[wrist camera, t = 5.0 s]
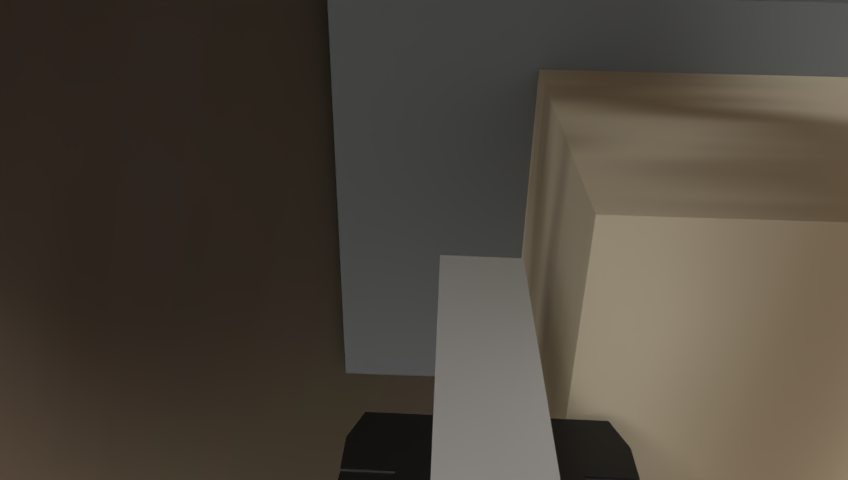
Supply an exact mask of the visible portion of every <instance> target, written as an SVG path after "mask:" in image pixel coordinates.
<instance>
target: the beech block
mask: <svg viewBox="0 0 848 480" xmlns="http://www.w3.org/2000/svg"><path fill="white" fill-rule="evenodd" d="M522 258H524V264H525V270H526V276H527V282H528V288H529V294H530V300H531V306H532V312H533V318H534V324H535V330H536V336H537V342H538V348H539V354H540V360H541V366H542V372H543V378H544V384H545V390H546V396H547V402H548V408H549V414H550V418H555V419H577V420H599V421H609V422H610V423H611V425H612V426H613V427H614V428H615V430H616V431H617V432H618V433H619V434H620V436H621V437H622V438H623V439H624V440H625V442H626V443H627V444H628V445H629V447H630V448H631V451H632V454H633V458H634V461H635V464H636V468H637V471H638V474H639V478H640V480H848V77H823V76H782V75H741V74H701V73H660V72H620V71H579V70H539V75H538V85H537V96H536V107H535V118H534V129H533V139H532V150H531V161H530V172H529V182H528V193H527V204H526V215H525V226H524V236H523V247H522Z"/></svg>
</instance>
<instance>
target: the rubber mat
mask: <svg viewBox="0 0 848 480" xmlns="http://www.w3.org/2000/svg"><path fill="white" fill-rule="evenodd" d="M327 4H328V24H329V44H330V64H331V84H332V105H333V125H334V145H335V165H336V186H337V206H338V226H339V246H340V266H341V287H342V307H343V327H344V347H345V367H346V373H355V374H382V375H409V376H435V361H436V338H437V314H438V291H439V267H440V255H453V256H478V257H503V258H522V247H523V236H524V226H525V215H526V204H527V193H528V182H529V172H530V161H531V150H532V139H533V129H534V118H535V107H536V96H537V85H538V75H539V70H579V71H620V72H660V73H701V74H741V75H782V76H823V77H848V0H327Z"/></svg>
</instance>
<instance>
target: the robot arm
mask: <svg viewBox="0 0 848 480" xmlns="http://www.w3.org/2000/svg"><path fill="white" fill-rule="evenodd" d="M338 480H640V478H639V474H638V471H637V468H636V464H635V461H634V458H633V454H632V451H631V448H630V447H629V445H628V444H627V443H626V442H625V440H624V439H623V438H622V437H621V436H620V434H619V433H618V432H617V431H616V430H615V428H614V427H613V426H612V425H611V423H610V422H609V421H599V420H577V419H555V418H550V414H549V408H548V402H547V396H546V390H545V384H544V378H543V372H542V366H541V360H540V354H539V348H538V342H537V336H536V330H535V324H534V318H533V312H532V306H531V300H530V294H529V288H528V282H527V276H526V270H525V264H524V258H503V257H478V256H453V255H440V267H439V291H438V314H437V338H436V361H435V385H434V409H433V415H419V414H397V413H375V412H365V413H364V415H363V416H362V417H361V419H360V420H359V421H358V422H357V424H356V425H355V426H354V428H353V429H352V430H351V432H350V433H349V434H348V436H347V437H346V442H345V447H344V452H343V458H342V463H341V471H340V473H339V478H338Z"/></svg>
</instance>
